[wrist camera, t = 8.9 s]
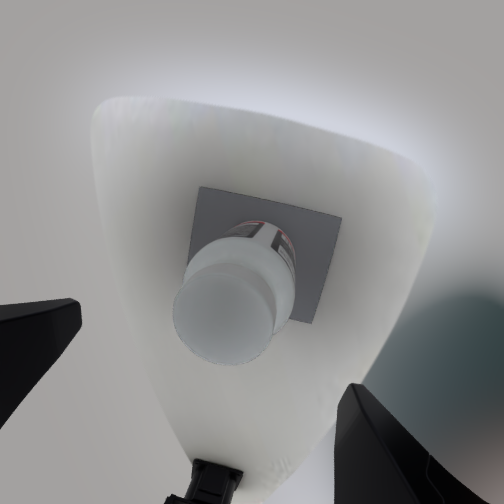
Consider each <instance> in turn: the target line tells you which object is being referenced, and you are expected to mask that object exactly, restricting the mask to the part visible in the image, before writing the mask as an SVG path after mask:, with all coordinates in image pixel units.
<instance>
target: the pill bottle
mask: <svg viewBox="0 0 504 504" xmlns="http://www.w3.org/2000/svg"><path fill="white" fill-rule="evenodd" d="M295 270H296V258H295V251H294V248H293V245H292V243H291V241H290V239H289V238H288V236H287V235H286V234H285V233H284V232H283V231H282V230H281V229H279V228H278V227H276V226H275V225H273V224H270V223H268V222H264V221H248V222H244V223H241V224H239V225H237V226H235V227H233V228H232V229H230V230H228V231H227V232H225V233H224V234H223V235H221V236H220V237H219V238H217V239H215V240H214V241H212V242H210V243H209V244H207V245H206V246H205V247H203V248H202V249H201V250H200V251H199V252H198V253H197V254H196V255H195V256H194V257H193V258H192V260H191V261H190V263H189V265H188V266H187V269H186V271H185V274H184V278H183V287H182V288H181V289H180V291H179V292H178V294H177V296H176V298H175V301H174V305H173V321H174V326H175V328H176V331H177V333H178V335H179V337H180V339H181V340H182V341H183V343H184V344H185V345H186V346H187V347H188V348H189V349H190V350H191V351H192V352H193V353H195V354H196V355H197V356H199V357H201V358H203V359H205V360H207V361H209V362H212V363H215V364H220V365H239V364H243V363H246V362H249V361H251V360H253V359H255V358H256V357H258V356H259V355H260V354H261V353H262V352H263V351H264V350H265V349H266V347H267V346H268V344H269V342H270V340H271V338H272V336H273V335H274V334H276V333H277V332H278V331H279V330H280V329H281V328H282V327H283V326H284V325H285V323H286V322H287V320H288V318H289V316H290V314H291V312H292V309H293V305H294V300H295Z"/></svg>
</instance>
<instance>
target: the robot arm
mask: <svg viewBox="0 0 504 504" xmlns="http://www.w3.org/2000/svg"><path fill="white" fill-rule="evenodd" d="M81 326H82V315H81V306H80V303H79V302H78V301H76V300H74V299H71V298H65V299H56V300H47V301H38V302H29V303H18V304H8V305H0V429H1V428H2V426H3V425H4V424H5V422H6V421H7V420H8V418H9V417H10V416H11V414H12V413H13V412H14V411H15V409H16V408H17V407H18V405H19V404H20V403H21V402H22V401H23V399H24V398H25V397H26V396H27V394H28V393H29V392H30V391H31V390H32V388H33V387H34V386H35V385H36V384H37V382H38V381H39V380H40V379H41V378H42V377H43V375H44V374H45V373H46V372H47V371H48V370H49V368H50V367H51V366H52V365H53V364H54V363H55V362H56V361H57V359H58V358H59V357H60V356H61V354H62V353H63V352H64V350H65V349H66V347H67V346H68V345H69V343H70V342H71V341H72V339H73V338H74V337H75V335H76V334H77V332H78V331H79V330H80V328H81ZM242 476H243V472H241V471H237V470H233V469H229V468H225V467H221V466H217V465H214V464H210V463H207V462H204V461H200V460H197V459H195V460H194V461H193V467H192V477H191V478H192V480H191V483H190V485H189V488H188V490H187V493H186V495H185V497H184V498H181V497H178V496H176V495H174V494H171V496H170V497H167V498H166V501H165V503H164V504H231V500H232V497H233V493H234V491H236V489H237V487H238V485H239V483H240V481H241V479H242ZM334 477H335V478H334V479H335V480H334V481H335V485H334V488H335V489H334V504H489V503H487V502H486V501H484V500H483V499H481V498H480V497H479V496H477V495H476V494H475V493H473V492H472V491H471V490H470V489H469V488H467V487H466V486H465V485H463V484H462V483H461V482H460V481H458V480H457V479H456V478H455V477H454V476H453V475H452V474H450V473H449V472H448V471H447V470H446V469H445V468H444V467H443V466H442V465H441V464H440V463H439V462H438V461H437V460H435V458H434V457H433V456H432V455H429V452H428V451H427V450H426V449H425V448H424V447H423V446H422V445H421V444H420V443H419V442H418V441H417V440H416V439H415V438H414V437H413V436H412V435H411V434H410V433H409V432H408V431H407V430H406V429H405V428H404V427H403V426H402V425H401V424H400V422H399V421H397V419H396V418H395V417H394V416H393V415H392V414H391V413H390V412H389V411H388V410H387V409H386V408H385V407H384V406H383V405H382V404H381V403H380V402H379V401H378V400H377V399H376V398H375V396H373V394H372V393H371V392H370V391H369V390H368V389H367V388H366V387H365V386H364V385H362V384H356V383H351V384H349V385H348V387H347V389H346V391H345V392H344V394H343V396H342V398H341V400H340V402H339V404H338V409H337V422H336V434H335V445H334Z"/></svg>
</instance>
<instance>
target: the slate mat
mask: <svg viewBox="0 0 504 504" xmlns="http://www.w3.org/2000/svg"><path fill="white" fill-rule="evenodd" d="M341 220H342V218H339V217H336V216H332V215H328V214H324V213H320V212H316V211H312V210H308V209H303V208H299V207H295V206H291V205H287V204H282V203H278V202H273V201H269V200H264V199H260V198H255V197H250V196H246V195H241V194H236V193H231V192H226V191H221V190H216V189H210V188H205V187H199V193H198V199H197V204H196V210H195V216H194V223H193V229H192V235H191V242H190V249H189V256H188V263H187V266H188V265H189V263H190V261H191V260H192V258H193V257H194V256H195V255H196V254H197V253H198V252H199V251H200V250H201V249H202V248H203V247H205V246H206V245H207V244H209V243H210V242H212V241H214V240H215V239H217V238H219V237H220V236H221V235H223V234H224V233H225V232H227V231H228V230H230V229H232V228H233V227H235V226H237V225H239V224H241V223H244V222H248V221H264V222H268V223H270V224H273V225H275V226H276V227H278V228H279V229H281V230H282V231H283V232H284V233H285V234H286V235H287V236H288V238H289V239H290V241H291V243H292V245H293V248H294V251H295V258H296V270H295V300H294V305H293V309H292V312H291V314H290V316H289V318H288V319H293V320H297V321H302V322H306V323H312V320H313V317H314V314H315V311H316V308H317V305H318V302H319V299H320V296H321V292H322V289H323V286H324V282H325V279H326V276H327V272H328V269H329V265H330V262H331V258H332V255H333V251H334V247H335V244H336V240H337V236H338V232H339V228H340V224H341Z"/></svg>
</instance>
